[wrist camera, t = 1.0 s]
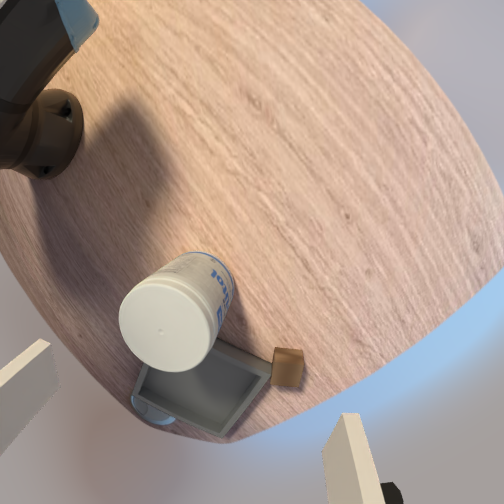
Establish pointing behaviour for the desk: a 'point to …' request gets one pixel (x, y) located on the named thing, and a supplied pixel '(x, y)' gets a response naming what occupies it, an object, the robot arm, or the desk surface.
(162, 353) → the supplement tub
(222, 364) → the tray
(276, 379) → the walnut block
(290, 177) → the desk surface
